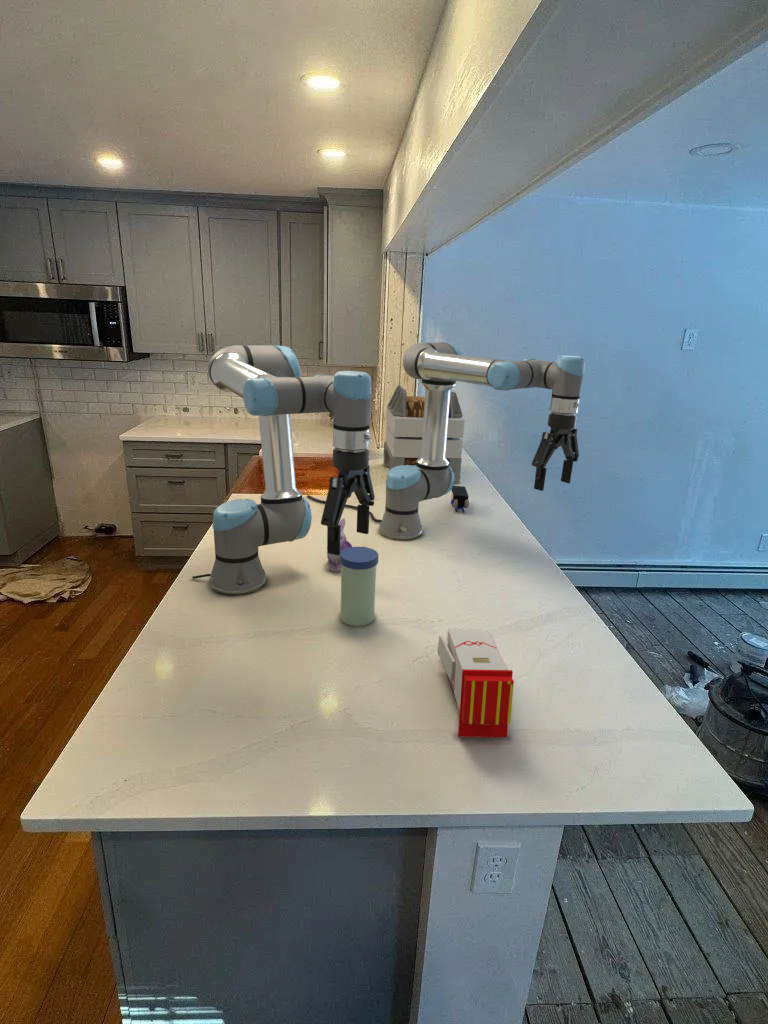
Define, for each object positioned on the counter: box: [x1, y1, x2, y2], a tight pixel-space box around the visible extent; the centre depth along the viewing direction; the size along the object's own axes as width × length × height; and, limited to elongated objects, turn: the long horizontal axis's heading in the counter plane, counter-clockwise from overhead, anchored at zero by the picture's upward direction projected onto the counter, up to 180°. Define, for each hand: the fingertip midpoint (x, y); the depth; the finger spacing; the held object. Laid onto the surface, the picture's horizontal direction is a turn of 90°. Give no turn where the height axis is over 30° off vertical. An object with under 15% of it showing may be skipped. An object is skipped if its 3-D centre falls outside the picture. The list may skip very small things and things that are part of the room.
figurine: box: [326, 517, 353, 572], centre depth 171 cm, size 9×10×15 cm
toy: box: [437, 628, 515, 738], centre depth 117 cm, size 12×13×30 cm
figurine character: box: [450, 485, 470, 513], centre depth 227 cm, size 7×8×15 cm
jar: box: [340, 565, 377, 627], centre depth 142 cm, size 9×9×17 cm
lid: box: [340, 546, 379, 570], centre depth 140 cm, size 9×9×2 cm
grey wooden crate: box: [383, 384, 465, 484], centre depth 268 cm, size 34×33×41 cm
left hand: (348, 542), depth 125 cm, fingers open, 13 cm apart
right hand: (552, 485), depth 166 cm, fingers open, 13 cm apart
